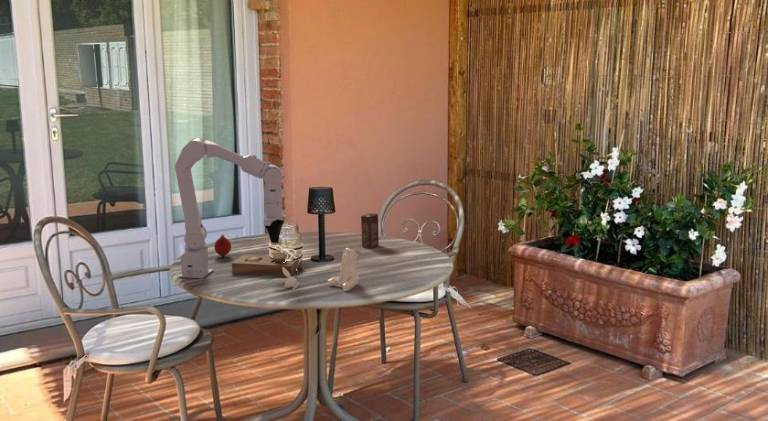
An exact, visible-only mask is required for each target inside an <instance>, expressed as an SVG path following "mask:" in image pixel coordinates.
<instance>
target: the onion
mask: <svg viewBox="0 0 768 421" xmlns="http://www.w3.org/2000/svg"><path fill="white" fill-rule="evenodd" d="M214 250H215V252H216V254H217V255H219V256H220V257H221V258H222V257H226V255H228V254H230V252H231V250H232V244H231V242H230V240H229V239H228V238H227V237H225V235H224V234H221V236H220V237H219V238H218V239H216V241H215V242H214Z"/></svg>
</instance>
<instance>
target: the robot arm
mask: <svg viewBox="0 0 768 421" xmlns="http://www.w3.org/2000/svg"><path fill="white" fill-rule="evenodd" d="M205 155H206V158H207V159H210V158H215V157H217V158H219V159H221V160H224V161H226V162H229V163H232V164H235V165H237V166H239V167H240V169H241V172H244V173H246V174H248V175H251V176H252V177H255V178H258V179H263V181H264V188H263V191H264V192H263V193H264V194H263V195H264V197H263V199H264V200H263V201H264V219H263V226H264V227H265V229H266V230H267V232H268V236H269V240H270V243H271V244H278V243H279V242H280V237H279V235H281V231H282V228H283V225H284V223H285V220H284V219H286V218H287V215H286V214H284V212H285V211H284V210H283V188H282V181H281V180H282V179H283V175H282V170H281V168H280V167H279V166H278V165H276V164H275V163H271V162H270V161H268V160H267V161H264V160H262V159H260V158H257V155H256V154H252V155H251V154H248V155H244V156H243V155H241V154H239V153H237V152H235V151H233V150H231V149H228V148H226V147H224V146H222V145H220V144H218V143H217V142H213V141H211V140H207V139H206V140H205V139H203V138H201V137H193V138H191V140H189V142H187V143H186V144H185V146H183V148H182V149H181V151H180V153H179V156H178V158H177V160H176V162H175V165H174V170H175V175H176V181H177V185H178V190H179V197H180V201H181V205H182V211H183V212H182V213H183V216H184V229H185V235H184V238H183V239H184V252H183V254H182V255H181V258H180V266H181V267H180V268H181V274H179V275H178V277H179V278H191V279H203V278H204V277H206V276H208V275H209V274H211V273H212V272H213V271H214V269H213V268H209V252H208V248H209V247H208V243H206V241H205V239H206V237H207V235H208V233H207V229H206V228H205V227H204V225H203V222H202V219H201V216H200V212H199V211H200V210H199V206H198V201H197V195H196V189H195V185H194V179H193V174H192V168H193V167H194V165H195V164H196V163H197V162H199V161H200V160H202V159H203V158H204V157H205Z"/></svg>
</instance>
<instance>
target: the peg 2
mask: <svg viewBox="0 0 768 421" xmlns="http://www.w3.org/2000/svg"><path fill="white" fill-rule="evenodd" d="M276 251H277V250H274V251H272V253H273V255H272V256H273V262H275V263H283V262H285V257H286V253H285V254H284V253H281V252H276Z"/></svg>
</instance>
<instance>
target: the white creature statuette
mask: <svg viewBox="0 0 768 421" xmlns="http://www.w3.org/2000/svg"><path fill="white" fill-rule="evenodd" d="M358 256H359V254H358V253H356V250H354V249H352V248H350V247H345V249H344V250H343V252H342V254H341V261H342V262H341V263H340V266H339V268H338V269H339V275H338V276H333V277H330V278H329V279H327V285H328V286H329V287H338V288H341V289H342V290H343V291H344V292H349V291H351V290H352V289H354V288H355V287H356V286H357V285H358V283H359V280H360V277H359V275H358V272H357V271H356V266H355V264H354V263H353V262H354V261H355V260H356V259H357V258H358Z"/></svg>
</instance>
